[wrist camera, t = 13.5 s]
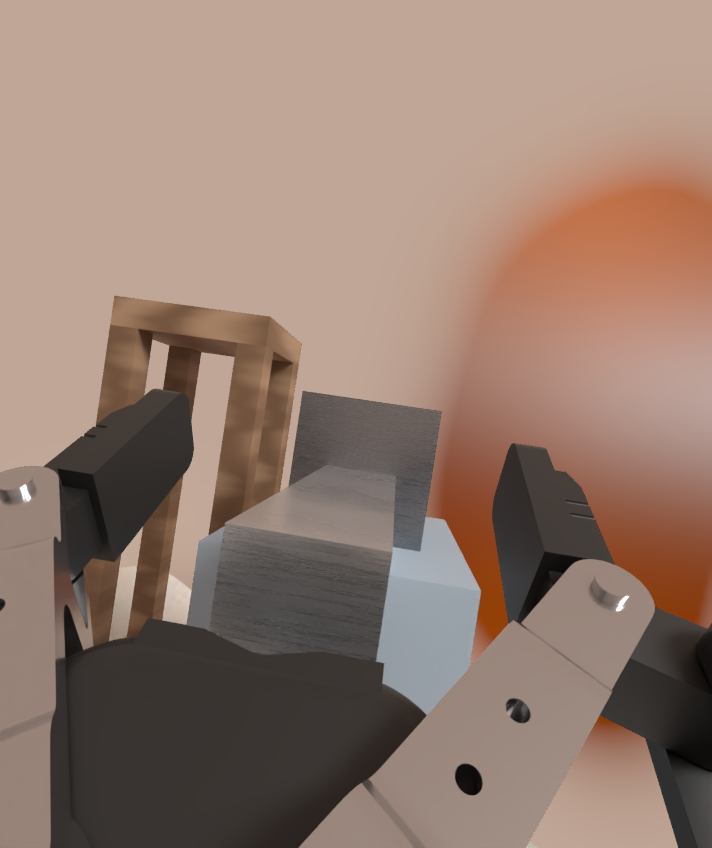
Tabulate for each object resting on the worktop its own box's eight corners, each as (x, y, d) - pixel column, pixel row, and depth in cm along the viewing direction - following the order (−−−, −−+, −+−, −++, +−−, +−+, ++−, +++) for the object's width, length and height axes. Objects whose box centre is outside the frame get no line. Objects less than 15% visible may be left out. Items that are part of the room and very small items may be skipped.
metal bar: (120, 672, 9) (168, 343, 8) (308, 504, 26) (324, 398, 26) (453, 741, 8) (508, 391, 8) (415, 522, 26) (431, 414, 26)
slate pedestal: (115, 1111, 17) (198, 541, 17) (230, 829, 29) (280, 492, 29) (388, 1190, 16) (481, 591, 16) (391, 866, 28) (444, 519, 28)
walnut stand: (48, 753, 33) (114, 295, 32) (132, 673, 43) (183, 327, 43) (200, 787, 32) (270, 316, 31) (248, 697, 42) (301, 343, 42)
